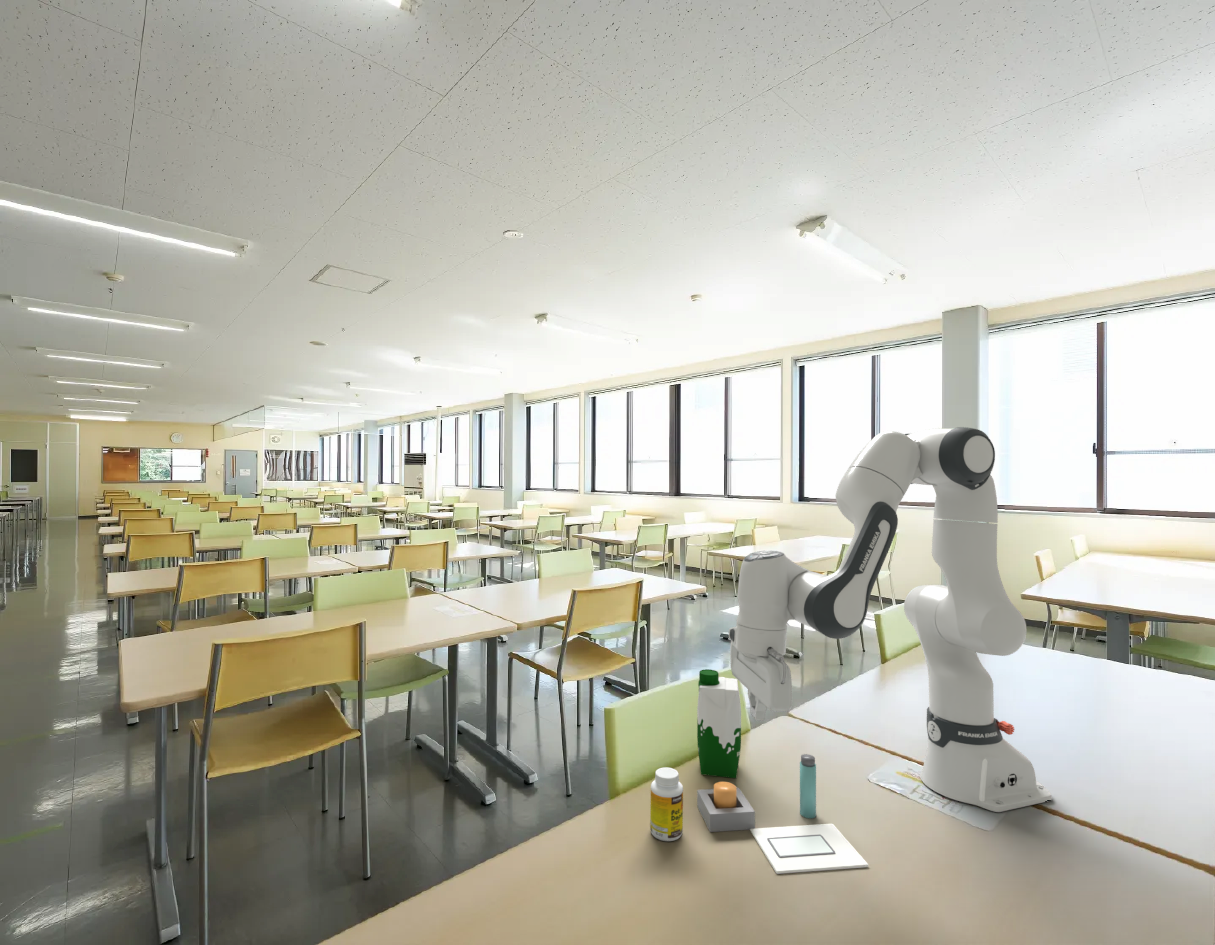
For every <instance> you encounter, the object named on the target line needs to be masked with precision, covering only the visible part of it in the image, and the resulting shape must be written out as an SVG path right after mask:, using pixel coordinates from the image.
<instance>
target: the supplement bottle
mask: <svg viewBox="0 0 1215 945" xmlns="http://www.w3.org/2000/svg"><path fill="white" fill-rule="evenodd" d="M679 777H680V776H679V772H678V770H677V769H675V768H672V767H666V766H664V767H660V768H657V769H656V770H655V777H654V780H653V781H652V782H651V783H650V815H649V816H650V823H649V825H650V826H649V827H650V828H649V830H650V833H651V835H652V836H653V837H654V838H655V839H658V840H659V841H662V842H673V841H676V840H678V839H679V838H681V837H682V834H683V831H684V830H683V828H684V826H683V825H684V821H683V819H684V815H683V814H684V787H683V786H684V785H683V784H682V783H681V782H680V778H679Z"/></svg>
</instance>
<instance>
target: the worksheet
mask: <svg viewBox="0 0 1215 945" xmlns="http://www.w3.org/2000/svg"><path fill="white" fill-rule="evenodd" d="M749 831H750V834H751V835H752V836H753V838H754V839H755V841H756V843H757V844H758V847H759V848H760V849H761V851H762V853H763V854H764V856H765V857H766V859H767V861H768V862H769V864H770V866H771V867H772V869H773V870H774V872H775V874H777V875H779V874H792V873H808V872H821V871H833V870H844V869H845V870H846V869H848V870H849V869H857V868H859V869H860V868H869V863H868V862H867V861H866V860H865V859H864V858H863V856H862V855H861V854H860V853H859V852H858V851H857V850H856V849H855V847H854V846H853V845H852V844H851V842H850V841H848V839H847V838H846V837H845V836H844V835H843V833H842V832H841V831H840V830H839V829H838V828H837V827H836V826H835V824H833V823H823V824H821V823H819V824H808V825H807V824H804V825H789V826H786V825H785V826H774V827H771V826H770V827H758V828H756V827H755V829H749Z"/></svg>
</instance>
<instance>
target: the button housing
mask: <svg viewBox="0 0 1215 945" xmlns="http://www.w3.org/2000/svg"><path fill="white" fill-rule="evenodd" d="M736 788H737V797H736V808H723V809H716V808H715V806H714V788H709V789H697V791H696V793H697V794H696V798H697V799H696V800H697V801H696V803H697V804H696V806H697V809H698V811H699V813H700V815H701V817H702V819H703V820H704V823H705V825H706V827H707V829H708V831H709V833H714V832H716V833H718V832H731V831H745V830H749V831H750V829H755V828H756V818H755V817H756V811H755V809H754V808H753V806H752V805H751V804H750V801H749V800H748V799H747V797H746V796H745V795H744V793H743V791H742V790H741V788H740V787H736Z"/></svg>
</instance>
